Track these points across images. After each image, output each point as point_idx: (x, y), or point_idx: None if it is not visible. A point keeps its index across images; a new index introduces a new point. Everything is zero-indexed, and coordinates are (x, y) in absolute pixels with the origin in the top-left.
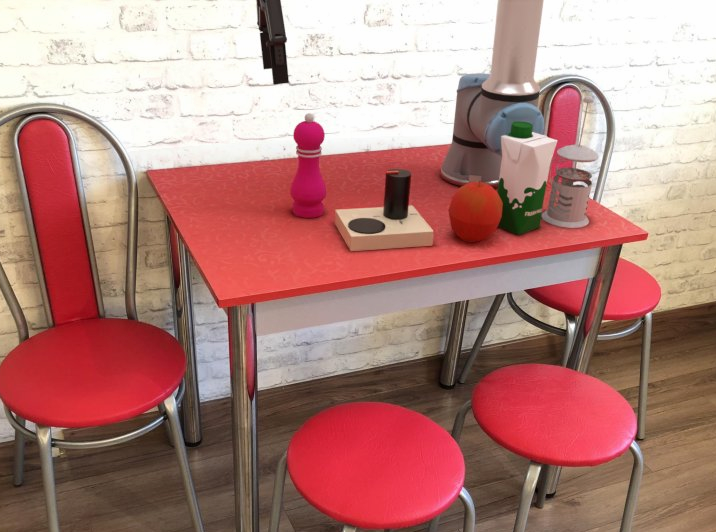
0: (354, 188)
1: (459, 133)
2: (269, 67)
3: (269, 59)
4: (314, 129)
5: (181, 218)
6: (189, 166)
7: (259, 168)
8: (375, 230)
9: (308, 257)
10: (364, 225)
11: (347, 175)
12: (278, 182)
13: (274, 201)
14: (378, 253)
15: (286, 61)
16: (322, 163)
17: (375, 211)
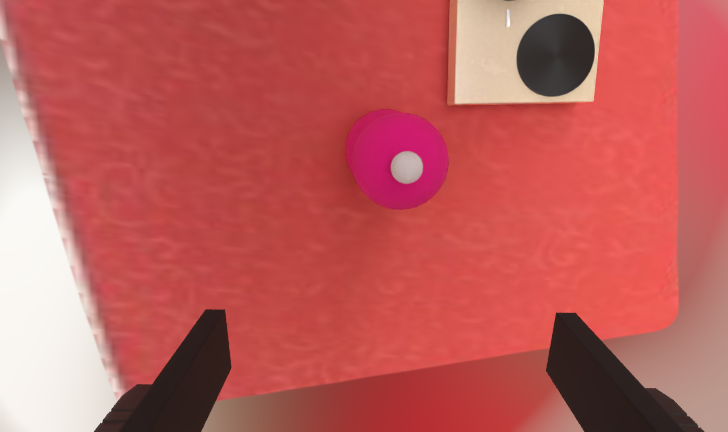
0: (250, 10)
1: None
2: (226, 348)
3: (212, 369)
4: (441, 154)
5: (377, 370)
6: (105, 348)
7: (113, 210)
8: (586, 44)
9: (579, 184)
10: (557, 61)
11: (160, 6)
12: (205, 181)
13: (314, 205)
14: None
15: (633, 379)
16: (71, 52)
17: (480, 13)
